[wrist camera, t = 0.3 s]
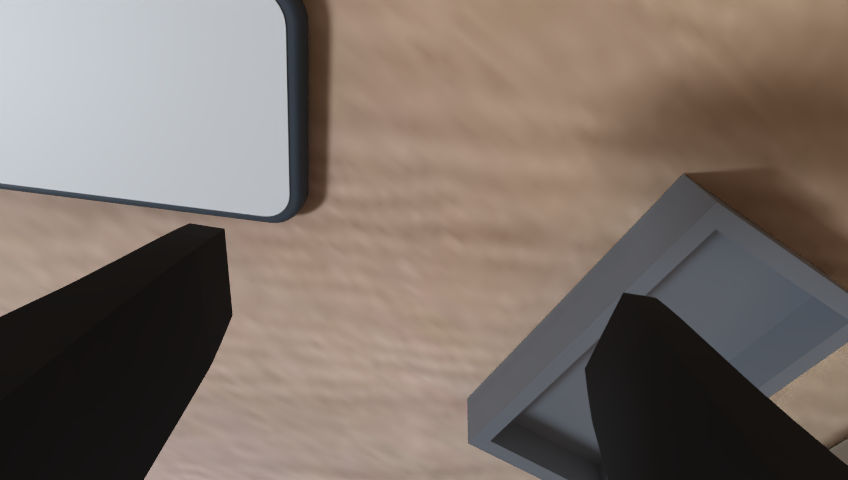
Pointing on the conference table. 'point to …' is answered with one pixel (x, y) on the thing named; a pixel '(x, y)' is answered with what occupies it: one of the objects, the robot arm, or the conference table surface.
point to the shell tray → (688, 298)
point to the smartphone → (157, 103)
